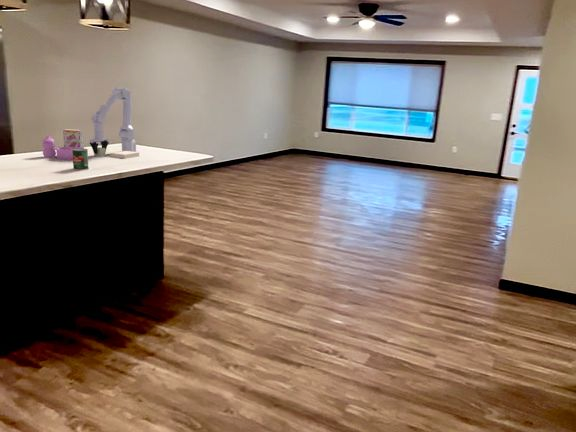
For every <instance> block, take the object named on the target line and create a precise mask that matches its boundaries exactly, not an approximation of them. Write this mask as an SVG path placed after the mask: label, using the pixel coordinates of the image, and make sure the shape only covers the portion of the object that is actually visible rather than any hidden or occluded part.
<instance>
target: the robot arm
mask: <svg viewBox="0 0 576 432" xmlns="http://www.w3.org/2000/svg"><path fill="white" fill-rule="evenodd" d="M117 100H121V101H122V102H123V103H122V105H123V106H122V126H121V127H120V129H119V133H118V135H119V137H120V140H121V151H132V152H138V151H137V143H136V140H135V139H134V138H135V137H136V135H135V134H136V133H135V128H133V126H132V110H133V109H132V108H133V99H132V95H131V91H130V89H128V88H126V87H115V88H114V89H113V90H112V93H111V95H110V97H109V98H108V99H107V101H106V103H104V104H102V105H100V108H99V109H97V111H96V113H93V115H92V116H91V121H92V124H93V131H94V132H93V137H94V138H93V139H89V145H90V146H91V149H92V152H93V155H94V154H97V148H98V147H99V143H100V145H101V148H105V152H106V153H107V147H108V145H109V137H104V136H105V135H104V122H105V121H106V116H107V115H108V114H109V112H110V111H111V107H112V106H113V105H114V103H115V102H116V101H117Z"/></svg>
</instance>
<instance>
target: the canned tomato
mask: <svg viewBox="0 0 576 432" xmlns="http://www.w3.org/2000/svg"><path fill="white" fill-rule="evenodd" d="M72 150H73V160H72V163H73V164H72V165H73V170H75V171H76V170H77V171H84V170H89V149H88V148H84V149H83V148H77V149H72Z"/></svg>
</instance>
